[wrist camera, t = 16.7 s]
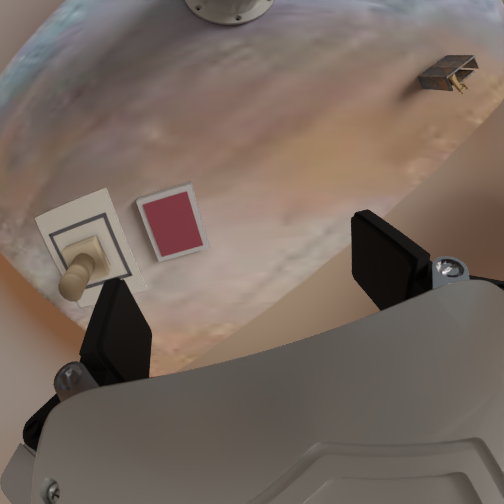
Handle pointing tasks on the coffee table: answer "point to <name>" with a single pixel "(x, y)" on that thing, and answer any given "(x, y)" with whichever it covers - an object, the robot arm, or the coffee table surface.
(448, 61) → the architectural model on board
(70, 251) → the stamp
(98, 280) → the marked card
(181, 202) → the ink pad
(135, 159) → the coffee table surface
